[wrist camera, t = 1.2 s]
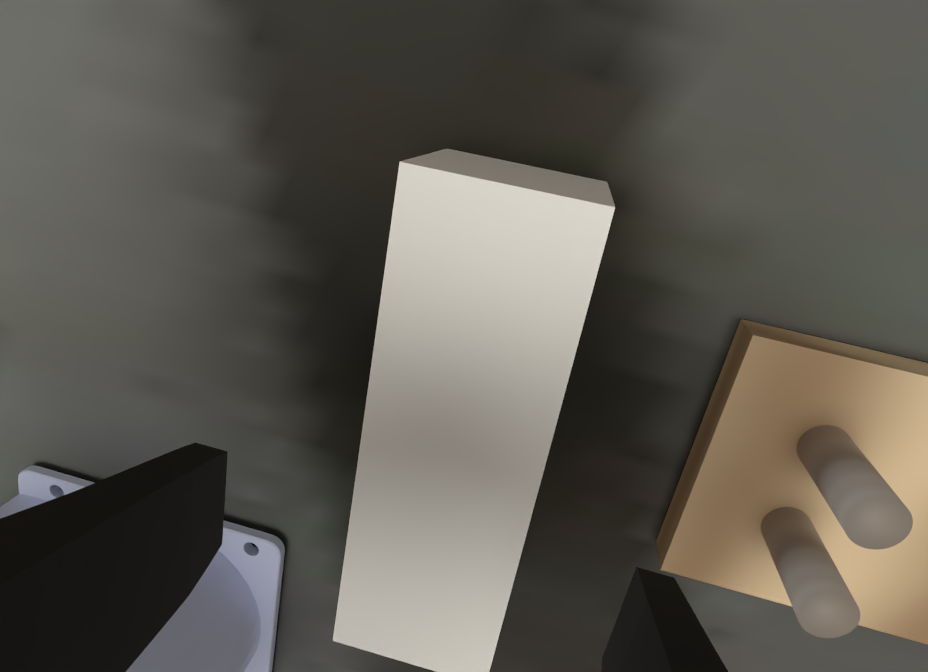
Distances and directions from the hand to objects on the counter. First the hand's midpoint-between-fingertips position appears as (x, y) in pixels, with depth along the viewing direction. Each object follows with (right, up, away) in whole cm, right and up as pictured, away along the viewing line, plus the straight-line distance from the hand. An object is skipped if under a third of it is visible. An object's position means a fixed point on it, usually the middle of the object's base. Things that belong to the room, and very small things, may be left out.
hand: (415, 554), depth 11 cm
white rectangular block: (+1, +2, +7) cm, 8 cm away
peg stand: (+14, -1, +5) cm, 15 cm away
